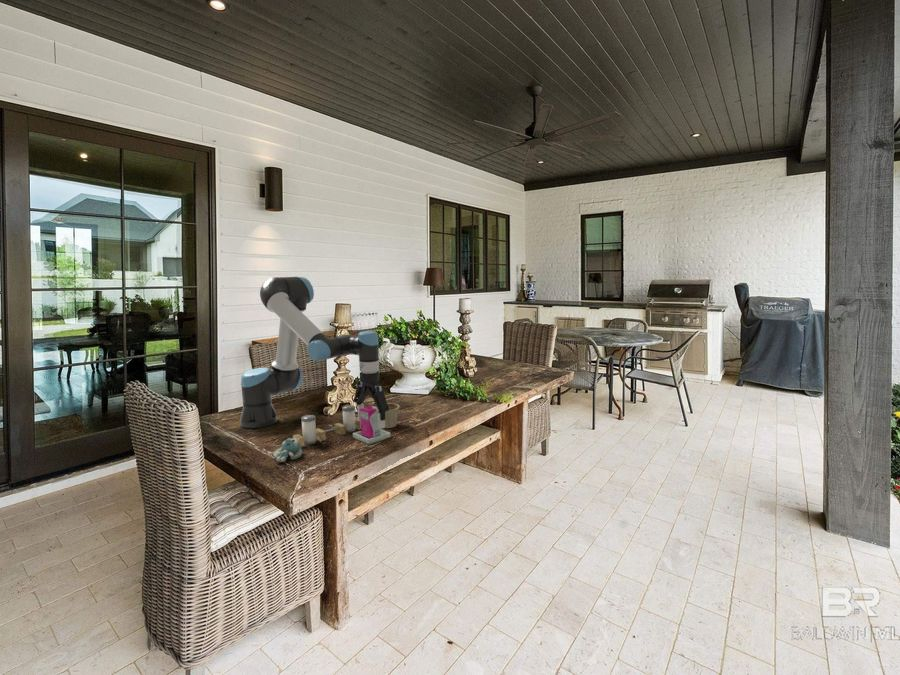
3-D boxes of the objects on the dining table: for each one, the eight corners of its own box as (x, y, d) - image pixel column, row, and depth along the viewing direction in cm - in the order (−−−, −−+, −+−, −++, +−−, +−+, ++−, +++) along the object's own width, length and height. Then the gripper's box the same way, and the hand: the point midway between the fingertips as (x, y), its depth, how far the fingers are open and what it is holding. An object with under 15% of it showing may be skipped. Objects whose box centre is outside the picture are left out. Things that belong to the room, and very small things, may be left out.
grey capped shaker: (340, 430, 191) (339, 407, 189) (351, 427, 194) (350, 404, 193) (347, 433, 187) (346, 409, 186) (358, 430, 191) (357, 407, 189)
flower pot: (403, 427, 194) (403, 407, 193) (383, 431, 189) (382, 411, 188) (394, 421, 202) (393, 402, 201) (374, 425, 197) (373, 405, 196)
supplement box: (372, 432, 187) (371, 404, 185) (381, 435, 183) (380, 407, 181) (360, 436, 182) (359, 408, 181) (369, 439, 178) (368, 411, 177)
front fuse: (300, 442, 178) (298, 417, 177) (312, 438, 182) (311, 414, 180) (306, 445, 174) (305, 420, 173) (319, 441, 178) (317, 417, 177)
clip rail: (289, 442, 178) (288, 433, 178) (353, 423, 199) (352, 416, 198) (299, 447, 173) (299, 438, 172) (364, 428, 193) (363, 420, 192)
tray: (352, 437, 182) (352, 433, 182) (374, 430, 190) (374, 426, 190) (368, 444, 175) (368, 439, 175) (390, 437, 182) (390, 432, 182)
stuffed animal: (263, 449, 157) (279, 431, 169) (266, 467, 160) (282, 448, 171) (293, 450, 156) (307, 432, 167) (296, 468, 158) (310, 449, 170)
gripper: (343, 368, 185) (345, 419, 188) (380, 378, 167) (382, 434, 170) (359, 365, 190) (361, 415, 193) (397, 374, 172) (398, 429, 175)
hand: (371, 424), depth 182 cm, fingers open, 13 cm apart
